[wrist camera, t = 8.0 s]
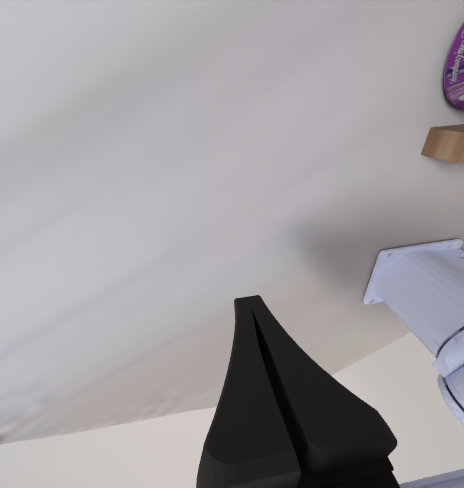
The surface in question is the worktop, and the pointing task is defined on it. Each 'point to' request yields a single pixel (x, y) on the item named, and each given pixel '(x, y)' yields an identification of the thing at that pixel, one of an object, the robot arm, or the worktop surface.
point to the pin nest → (445, 143)
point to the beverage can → (455, 72)
